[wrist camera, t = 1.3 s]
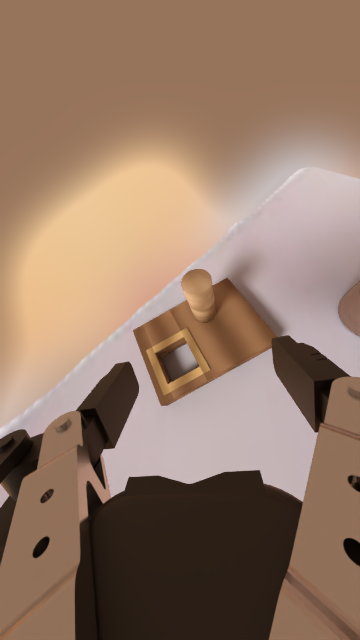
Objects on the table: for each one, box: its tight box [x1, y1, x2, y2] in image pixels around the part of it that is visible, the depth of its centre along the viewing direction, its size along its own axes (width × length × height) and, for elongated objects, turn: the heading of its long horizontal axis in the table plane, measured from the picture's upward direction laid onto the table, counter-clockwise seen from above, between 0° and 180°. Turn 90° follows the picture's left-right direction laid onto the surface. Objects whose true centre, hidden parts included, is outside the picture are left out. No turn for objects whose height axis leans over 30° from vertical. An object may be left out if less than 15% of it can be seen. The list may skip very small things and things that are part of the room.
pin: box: [181, 269, 216, 323], centre depth 28 cm, size 4×4×9 cm
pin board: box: [133, 278, 276, 406], centre depth 32 cm, size 20×14×3 cm
